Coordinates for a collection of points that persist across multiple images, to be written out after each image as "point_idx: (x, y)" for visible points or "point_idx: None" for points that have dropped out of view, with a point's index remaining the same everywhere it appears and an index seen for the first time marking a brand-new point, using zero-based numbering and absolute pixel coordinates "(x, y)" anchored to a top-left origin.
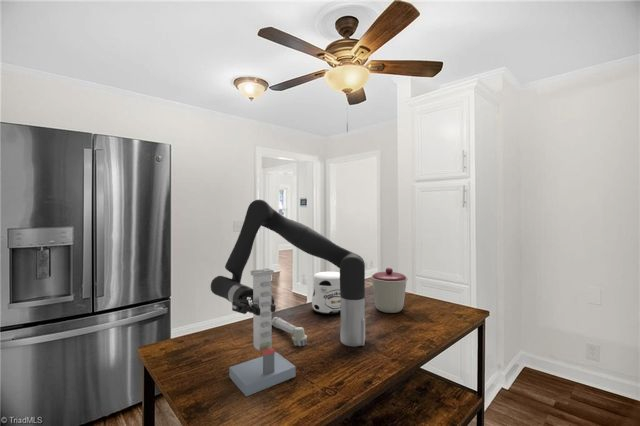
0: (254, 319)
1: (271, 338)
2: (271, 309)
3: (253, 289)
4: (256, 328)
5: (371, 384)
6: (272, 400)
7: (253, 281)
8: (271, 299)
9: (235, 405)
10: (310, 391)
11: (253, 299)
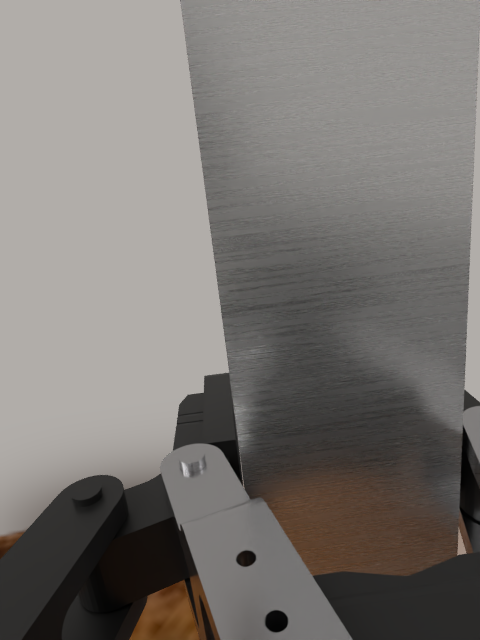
0: None
1: None
2: (236, 431)
3: (466, 188)
4: None
5: (2, 544)
6: None
7: (473, 8)
8: (104, 499)
9: None
10: (186, 604)
11: (460, 369)
